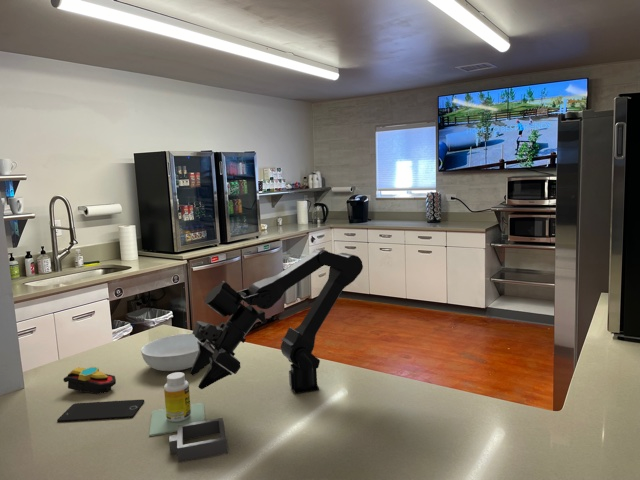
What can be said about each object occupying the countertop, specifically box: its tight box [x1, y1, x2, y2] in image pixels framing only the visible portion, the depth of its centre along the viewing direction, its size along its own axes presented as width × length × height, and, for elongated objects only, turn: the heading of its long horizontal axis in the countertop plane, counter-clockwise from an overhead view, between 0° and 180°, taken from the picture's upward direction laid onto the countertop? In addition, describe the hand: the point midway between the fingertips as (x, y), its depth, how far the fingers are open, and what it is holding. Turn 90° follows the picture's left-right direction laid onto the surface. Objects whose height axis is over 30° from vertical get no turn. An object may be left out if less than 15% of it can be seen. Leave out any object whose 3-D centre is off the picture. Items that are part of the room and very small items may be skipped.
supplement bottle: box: [163, 371, 191, 422], centre depth 112 cm, size 6×6×10 cm
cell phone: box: [56, 399, 145, 423], centre depth 119 cm, size 9×18×1 cm, turn 92°
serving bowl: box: [140, 332, 201, 372], centre depth 147 cm, size 21×21×7 cm
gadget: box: [62, 366, 117, 395], centre depth 132 cm, size 6×13×6 cm, turn 78°
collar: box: [168, 417, 228, 463], centre depth 101 cm, size 11×10×3 cm
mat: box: [148, 402, 206, 437], centre depth 113 cm, size 12×12×1 cm
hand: (195, 381), depth 114 cm, fingers open, 9 cm apart
